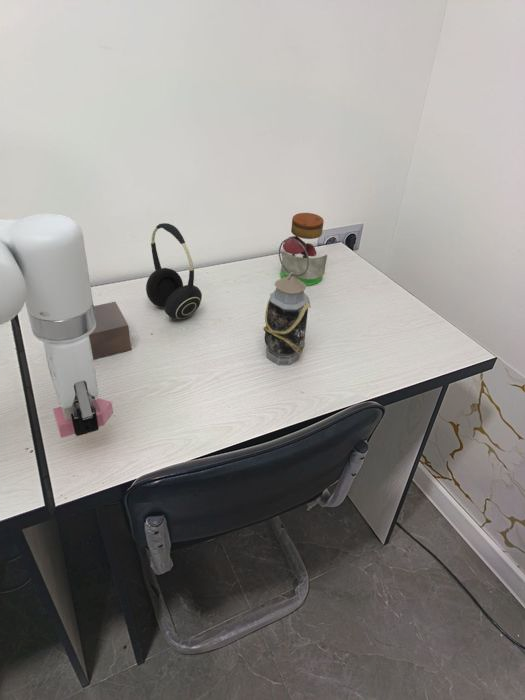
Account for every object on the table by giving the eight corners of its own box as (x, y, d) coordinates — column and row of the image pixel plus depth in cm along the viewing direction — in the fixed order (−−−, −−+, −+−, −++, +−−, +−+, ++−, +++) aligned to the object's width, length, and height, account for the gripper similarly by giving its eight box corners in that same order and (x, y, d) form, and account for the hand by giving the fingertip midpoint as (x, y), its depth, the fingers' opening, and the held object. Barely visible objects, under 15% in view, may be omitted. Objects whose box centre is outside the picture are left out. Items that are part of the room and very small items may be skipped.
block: (84, 362, 93) (79, 336, 90) (74, 335, 99) (69, 311, 96) (131, 350, 97) (128, 325, 93) (118, 325, 103) (115, 301, 99)
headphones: (172, 290, 115) (167, 208, 103) (211, 320, 107) (210, 234, 94) (140, 302, 110) (130, 217, 98) (177, 334, 102) (172, 245, 90)
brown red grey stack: (270, 264, 128) (274, 209, 118) (317, 263, 130) (325, 208, 121) (279, 288, 119) (285, 230, 109) (329, 286, 121) (339, 229, 112)
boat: (61, 438, 69) (55, 413, 66) (55, 420, 72) (50, 396, 69) (116, 421, 73) (113, 397, 70) (109, 405, 75) (106, 381, 72)
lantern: (311, 356, 99) (330, 241, 83) (285, 374, 94) (299, 256, 79) (279, 337, 103) (291, 224, 88) (252, 353, 98) (259, 237, 83)
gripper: (20, 289, 65) (46, 392, 76) (42, 363, 54) (68, 471, 65) (79, 279, 68) (95, 380, 79) (111, 347, 57) (125, 453, 68)
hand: (83, 420), depth 72 cm, fingers closed on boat, 3 cm apart
